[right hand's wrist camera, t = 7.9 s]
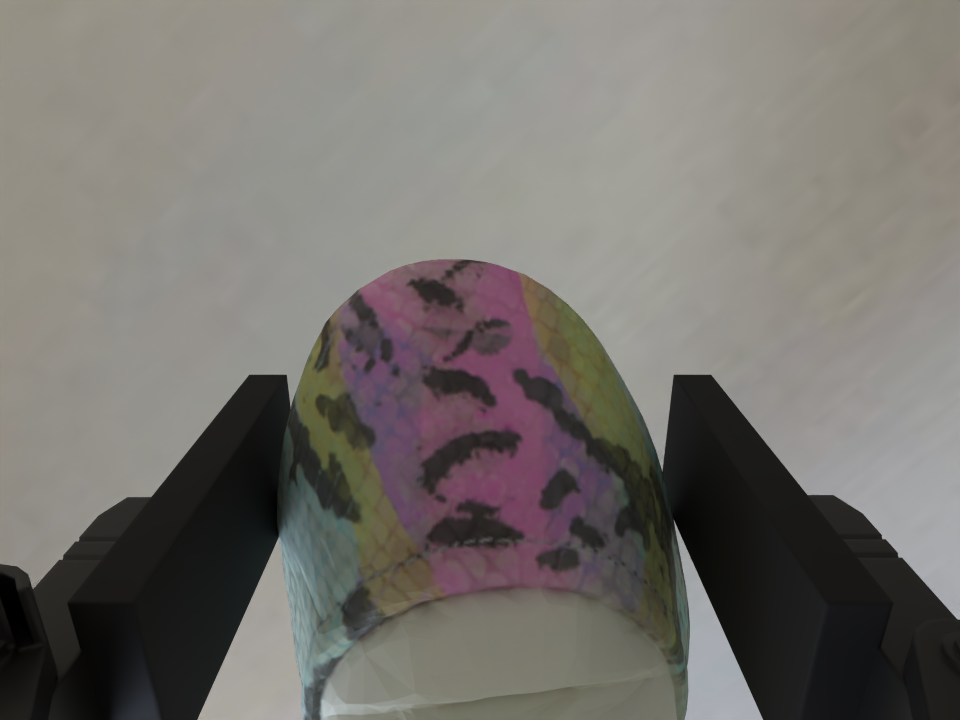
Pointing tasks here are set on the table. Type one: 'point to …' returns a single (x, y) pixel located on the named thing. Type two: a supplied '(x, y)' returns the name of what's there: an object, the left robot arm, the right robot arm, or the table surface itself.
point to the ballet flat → (476, 513)
